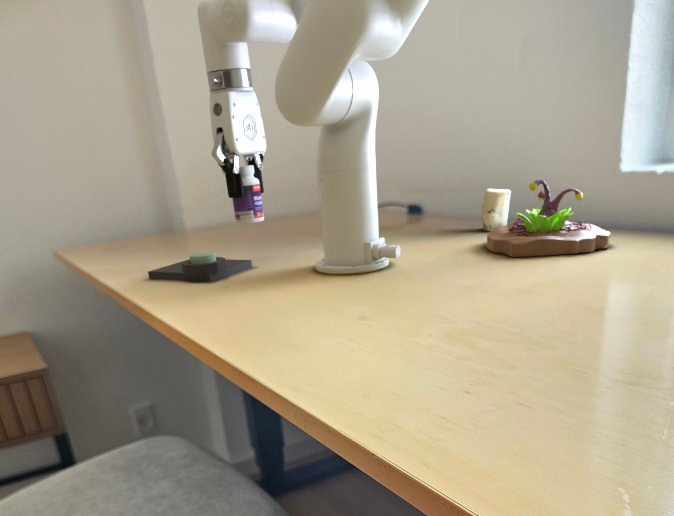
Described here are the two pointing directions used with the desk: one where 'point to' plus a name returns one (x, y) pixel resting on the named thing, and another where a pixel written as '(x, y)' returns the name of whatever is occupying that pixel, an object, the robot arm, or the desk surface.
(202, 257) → the tare button
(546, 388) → the desk surface
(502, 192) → the white speckled cylinder
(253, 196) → the pill bottle
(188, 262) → the scale
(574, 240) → the plant
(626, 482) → the desk surface
